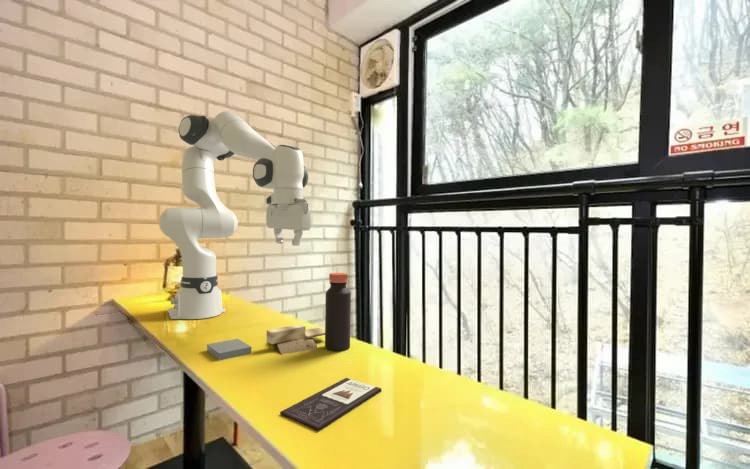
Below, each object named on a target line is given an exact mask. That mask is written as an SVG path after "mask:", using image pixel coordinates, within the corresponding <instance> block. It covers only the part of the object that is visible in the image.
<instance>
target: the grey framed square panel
mask: <svg viewBox="0 0 750 469" xmlns="http://www.w3.org/2000/svg"><path fill="white" fill-rule="evenodd" d="M206 351H207V352H208V353H209V354H210V355H211V356H213V357H214V358H215V359H217V361H222V360H223V361H224V360H227V359H232V358H236V357H237V358H238V357H241V356H246V355H250V354H251V355H252V346H251V345H249V344H247V343H246V342H244V341H242V340H240V339H239V338H234V339H229V340H228V339H227V340H223V341H218V342H212V343H207V344H206Z"/></svg>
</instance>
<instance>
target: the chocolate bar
mask: <svg viewBox="0 0 750 469" xmlns="http://www.w3.org/2000/svg"><path fill="white" fill-rule="evenodd" d="M381 392H382V388H381V387H378V386H375V385H372V384H368V383H365V382H361V381H358V380H355V379H351V378H348V377H345V378H343V379H341V380H339V381H338V382H335V383H333V384H331V385H329V386H327V387H325V388H323V389H322V390H320V391H318V392H316V393H314V394H311V395H310V396H308V397H306V398H304V399H302V400H300V401H299V402H296V403H295V404H293V405H291V406H289V407H286V409H283V410H281V411H279V413H280V414H279V415H280V416H283V417H284V418H287V419H289V420H292V421H294V422H295V423H298V424H301V425H303V426H304V427H308V428H310V429H312V430H314V431H316V432H320V431H322V430H323V429H325V428H327V427H328V426H330V425H331V424H333V423H334V422H336V421H338V420H339V419H341V418H342V417H344V416H346V415H347V414H349V413H351V412H352V411H353V410H355V409H356V408H358V407H359V406H361V405H362V404H364V403H365V402H367V401H368V400H370V399H372V398H374V397H375V396H377V395H378V394H380V393H381Z"/></svg>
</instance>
